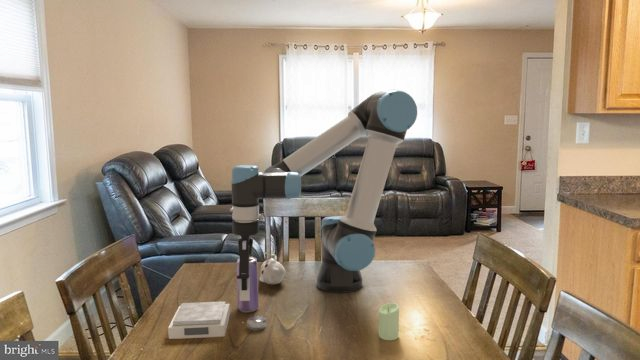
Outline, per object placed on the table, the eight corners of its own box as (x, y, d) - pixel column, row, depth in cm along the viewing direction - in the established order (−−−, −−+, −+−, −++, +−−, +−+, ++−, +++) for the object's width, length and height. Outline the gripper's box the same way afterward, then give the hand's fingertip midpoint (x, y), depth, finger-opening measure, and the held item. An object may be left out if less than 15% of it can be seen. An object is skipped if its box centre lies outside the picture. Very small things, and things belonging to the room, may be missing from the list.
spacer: (266, 322, 132) (266, 315, 131) (265, 331, 127) (265, 323, 126) (248, 323, 131) (247, 316, 131) (246, 331, 126) (246, 324, 126)
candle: (385, 342, 120) (385, 310, 119) (375, 333, 124) (375, 303, 123) (402, 338, 122) (402, 307, 121) (391, 330, 126) (392, 300, 125)
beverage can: (254, 313, 137) (253, 263, 135) (234, 312, 138) (233, 261, 136) (261, 305, 143) (260, 256, 141) (242, 304, 144) (240, 255, 142)
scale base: (230, 313, 137) (229, 303, 137) (224, 336, 123) (224, 325, 123) (179, 315, 136) (179, 305, 136) (168, 339, 122) (167, 328, 122)
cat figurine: (267, 248, 169) (271, 256, 154) (287, 259, 170) (293, 267, 156) (254, 272, 168) (256, 282, 154) (274, 283, 170) (278, 293, 155)
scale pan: (225, 304, 136) (225, 301, 135) (220, 323, 124) (220, 319, 124) (182, 306, 135) (182, 303, 134) (173, 325, 123) (172, 321, 123)
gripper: (236, 211, 149) (236, 277, 152) (227, 230, 124) (228, 308, 127) (260, 210, 149) (260, 276, 152) (256, 230, 125) (257, 308, 128)
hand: (246, 291), depth 140 cm, fingers open, 13 cm apart
